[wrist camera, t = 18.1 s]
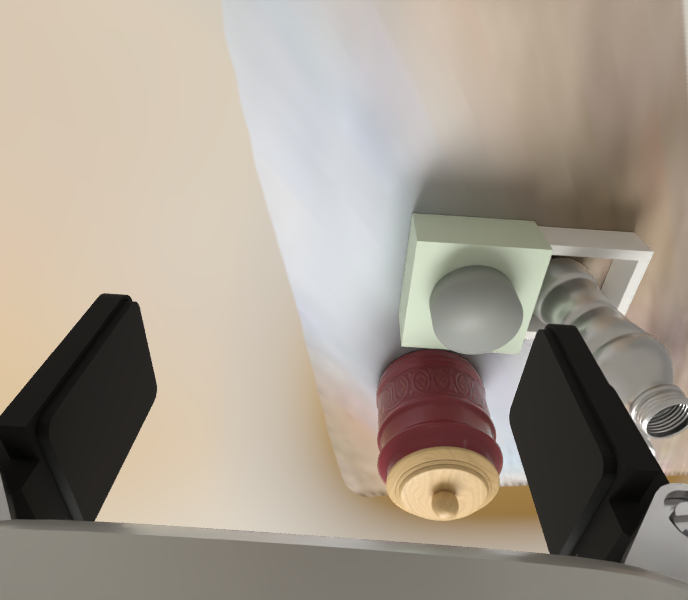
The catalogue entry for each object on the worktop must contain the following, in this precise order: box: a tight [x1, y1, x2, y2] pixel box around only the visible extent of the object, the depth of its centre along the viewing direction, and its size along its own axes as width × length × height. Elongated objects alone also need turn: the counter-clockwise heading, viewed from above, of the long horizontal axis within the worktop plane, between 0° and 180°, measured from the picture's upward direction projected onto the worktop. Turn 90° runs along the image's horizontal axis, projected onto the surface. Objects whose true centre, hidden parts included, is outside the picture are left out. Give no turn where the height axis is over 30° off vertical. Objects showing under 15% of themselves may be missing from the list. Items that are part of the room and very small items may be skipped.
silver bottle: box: [533, 258, 688, 439], centre depth 43 cm, size 6×7×20 cm
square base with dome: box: [398, 213, 654, 355], centre depth 48 cm, size 12×22×9 cm, turn 87°
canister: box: [377, 349, 503, 520], centre depth 54 cm, size 13×13×18 cm
